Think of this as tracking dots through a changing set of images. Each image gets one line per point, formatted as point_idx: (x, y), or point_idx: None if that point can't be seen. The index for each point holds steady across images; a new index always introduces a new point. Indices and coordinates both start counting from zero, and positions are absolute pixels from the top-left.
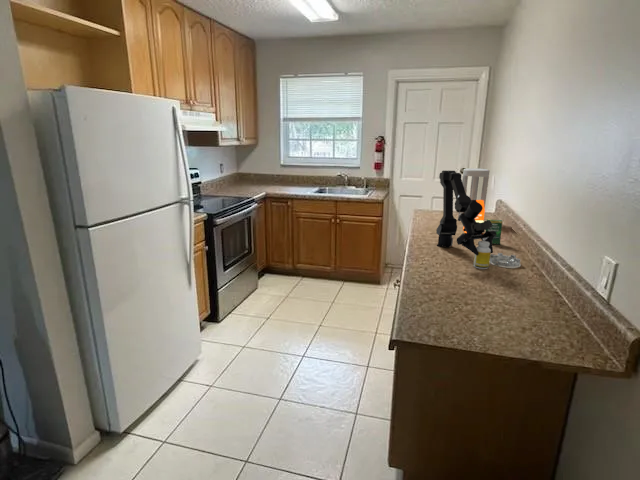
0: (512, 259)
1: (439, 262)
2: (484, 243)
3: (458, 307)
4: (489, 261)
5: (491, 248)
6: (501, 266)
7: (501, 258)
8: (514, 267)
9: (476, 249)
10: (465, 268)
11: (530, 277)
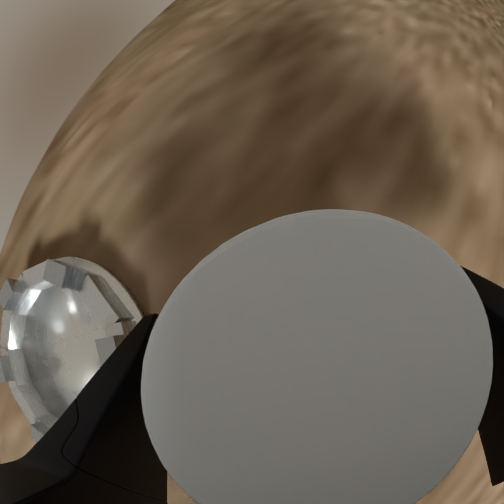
0: (19, 363)
1: None
2: (417, 246)
3: (494, 23)
4: None
5: (131, 353)
6: (127, 292)
7: (55, 418)
8: (68, 257)
9: (478, 289)
10: None
11: (109, 114)
